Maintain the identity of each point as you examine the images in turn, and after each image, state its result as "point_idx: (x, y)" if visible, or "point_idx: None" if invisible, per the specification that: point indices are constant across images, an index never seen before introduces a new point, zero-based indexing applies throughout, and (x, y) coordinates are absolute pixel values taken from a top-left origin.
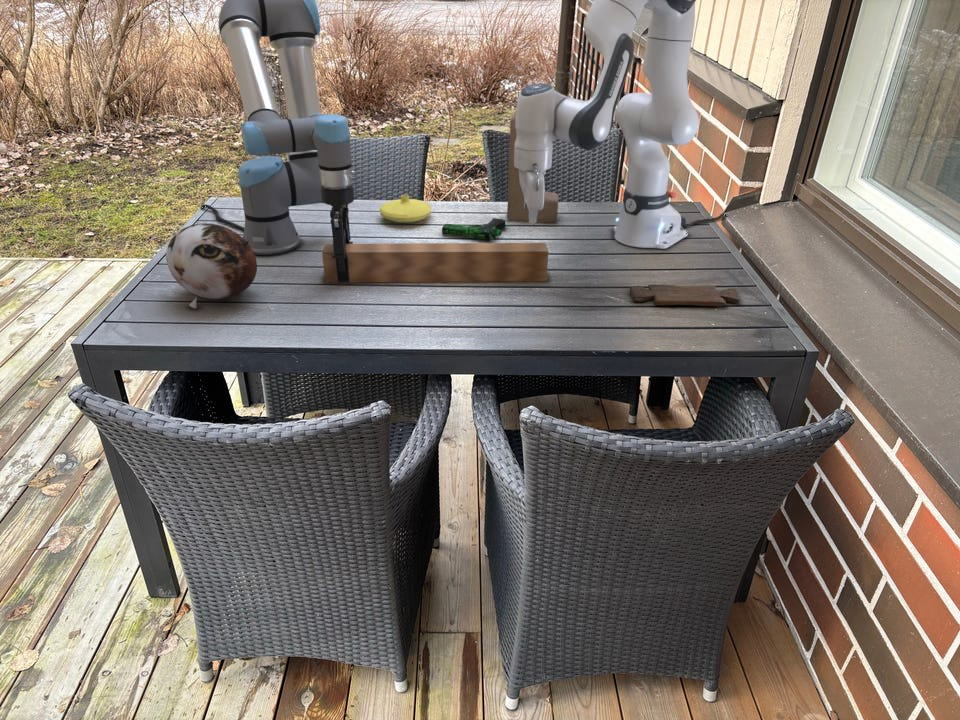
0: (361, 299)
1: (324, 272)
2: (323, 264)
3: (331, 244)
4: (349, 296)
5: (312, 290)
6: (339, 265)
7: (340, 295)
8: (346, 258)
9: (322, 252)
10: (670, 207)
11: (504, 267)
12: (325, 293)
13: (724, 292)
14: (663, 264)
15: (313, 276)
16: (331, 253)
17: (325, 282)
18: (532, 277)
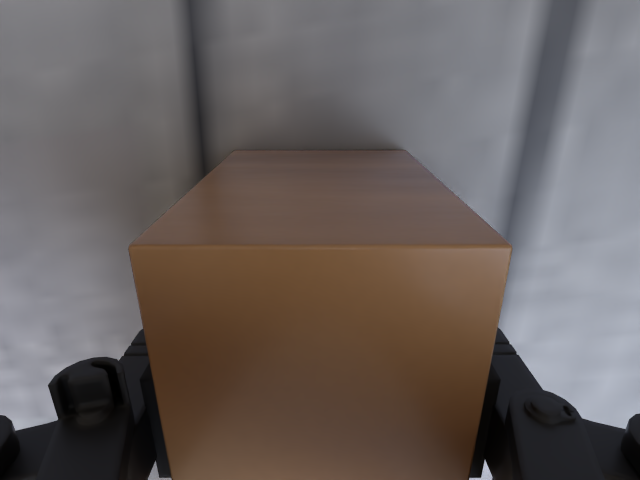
0: (20, 389)
1: (211, 171)
2: (191, 189)
3: (466, 338)
4: (42, 327)
5: (82, 66)
6: (126, 363)
7: (44, 276)
8: (165, 461)
9: (130, 250)
10: None
11: None
12: (51, 176)
13: None
14: None
15: (357, 29)
16: (155, 359)
17: (232, 152)
18: None
